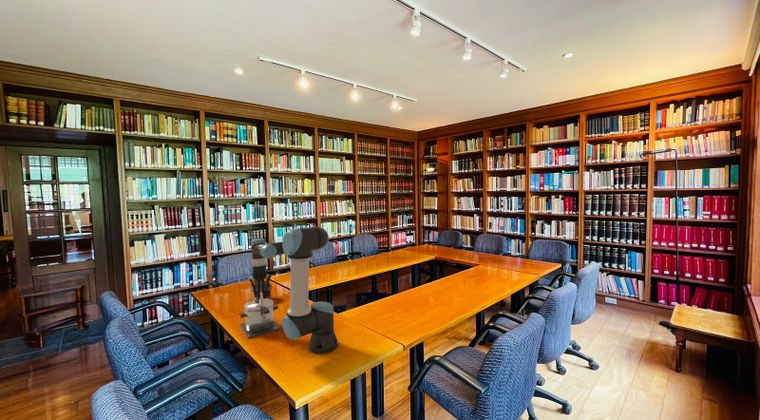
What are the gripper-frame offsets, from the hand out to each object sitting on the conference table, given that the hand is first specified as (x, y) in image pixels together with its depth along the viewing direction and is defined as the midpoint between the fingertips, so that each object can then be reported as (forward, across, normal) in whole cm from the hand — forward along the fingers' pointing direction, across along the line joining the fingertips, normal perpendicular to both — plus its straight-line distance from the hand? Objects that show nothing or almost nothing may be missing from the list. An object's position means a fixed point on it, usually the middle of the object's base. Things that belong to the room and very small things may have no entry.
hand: (261, 304), depth 183 cm
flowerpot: (+16, -15, -54) cm, 58 cm away
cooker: (+16, 0, -5) cm, 17 cm away
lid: (+3, 0, -1) cm, 3 cm away
